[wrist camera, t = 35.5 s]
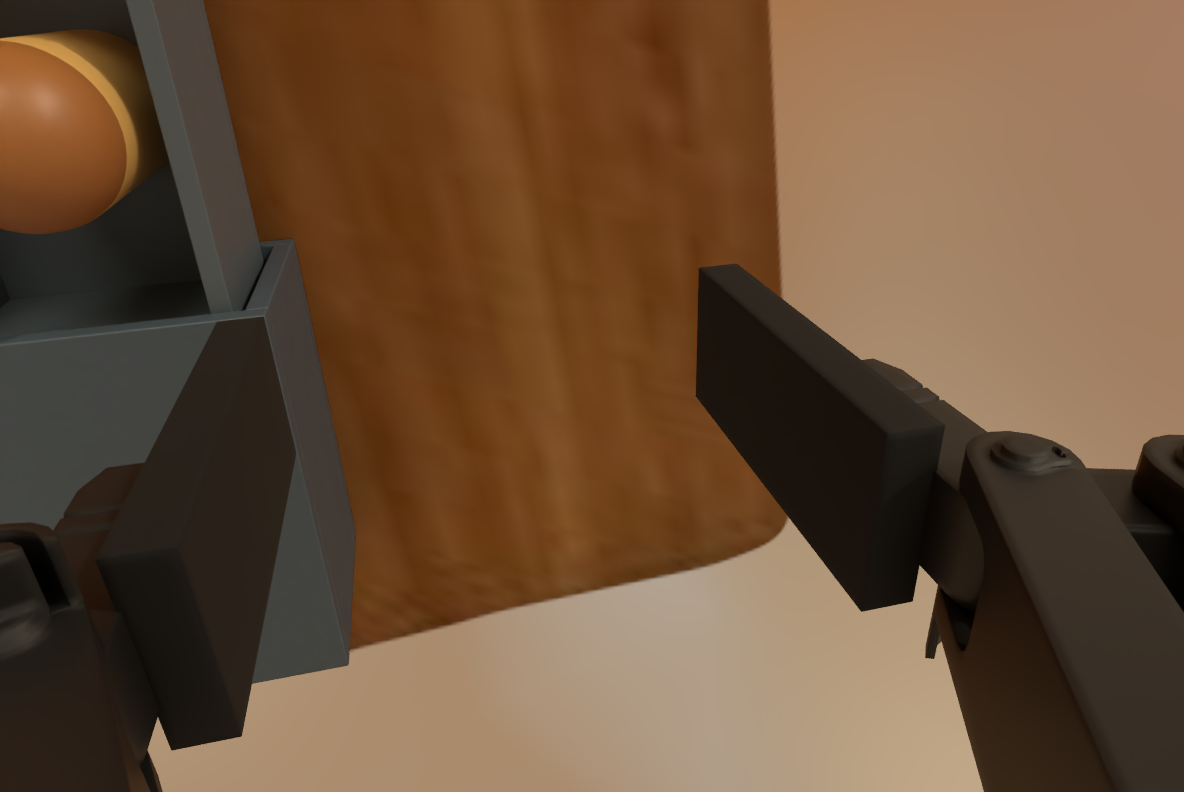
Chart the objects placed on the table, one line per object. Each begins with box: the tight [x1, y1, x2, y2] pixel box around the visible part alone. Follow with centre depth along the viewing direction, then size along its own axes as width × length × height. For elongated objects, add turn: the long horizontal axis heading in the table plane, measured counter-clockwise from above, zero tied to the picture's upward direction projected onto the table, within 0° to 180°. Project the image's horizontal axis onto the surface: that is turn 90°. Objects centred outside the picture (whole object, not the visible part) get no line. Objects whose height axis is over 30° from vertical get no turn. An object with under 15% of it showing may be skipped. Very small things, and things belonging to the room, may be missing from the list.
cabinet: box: [0, 239, 356, 684], centre depth 37 cm, size 18×14×11 cm
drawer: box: [0, 0, 265, 337], centre depth 29 cm, size 23×13×9 cm, turn 2°
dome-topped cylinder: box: [0, 29, 169, 234], centre depth 28 cm, size 6×6×11 cm
